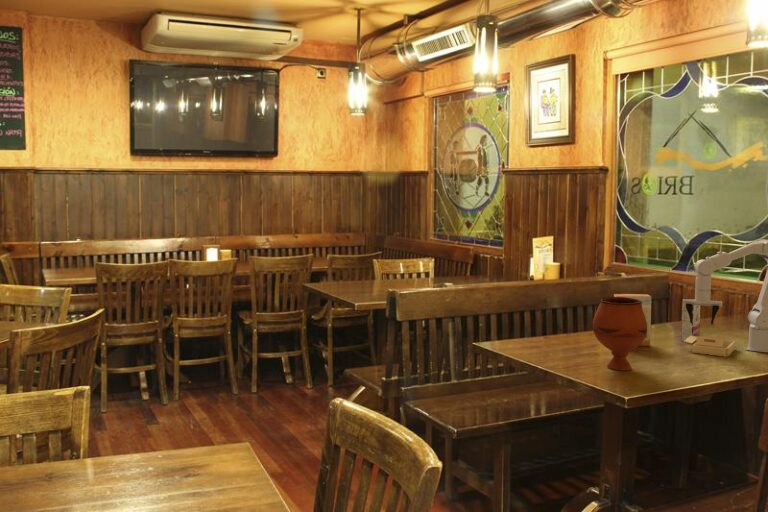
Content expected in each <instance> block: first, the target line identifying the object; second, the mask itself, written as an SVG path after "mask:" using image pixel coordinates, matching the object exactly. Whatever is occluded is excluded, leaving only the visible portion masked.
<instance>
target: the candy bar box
mask: <svg viewBox="0 0 768 512" xmlns="http://www.w3.org/2000/svg"><path fill="white" fill-rule="evenodd" d="M697 304H699V303H697ZM701 306H702V305H693V309H692V319H693V320H692V323H690V317H689V314H688V311H687V309H686V305H683V302H682V303H681V331H680V332H681V333H680V335H681V336H680V337H681V339H680V341H681V342H683V341H684V340H685V339H687V338H688V337H689V336H695V337H697V336H700V334H701Z"/></svg>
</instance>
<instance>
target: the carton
mask: <svg viewBox="0 0 768 512" xmlns="http://www.w3.org/2000/svg"><path fill="white" fill-rule="evenodd" d="M735 350H736V341H734V340H730V339H724V340H723V347H716V346H707V345H699V344H696V342H693V343H692V344H691V353H692V354H698V353H700V354H699V355H706V354H709V355H708V356H714V355H716V357H722V356H723V357H724V358H727V357H729V356H730V355H731V354H732V353H733V352H734V351H735Z"/></svg>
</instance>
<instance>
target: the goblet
mask: <svg viewBox="0 0 768 512" xmlns="http://www.w3.org/2000/svg"><path fill="white" fill-rule="evenodd" d="M592 330H593V333H594V336H595V338H596V339H597V341H598V342H599V343H600V344H602V346H603V347H605V348H606V349H608V350H610V351H611V354H612V356H613V357H612V358H611V359H610V360H609V361H608V363H607V364H606V367H609V368H608V369H610V368H612V369H611V370H613V369H616V370H615V371H629V370H632V365H631V364H630V362H629V361H628V360H627V357H628V356H629V352H631V351H633V350H635V349H637V348H638V347H640V346H639V345H640V344H641V343H642V342H643V340H644V339H645V337H646V334H647V322H646V318H645V315H644V313H643V309H642V301H641V300H638V299H633V298H625V297H614V296H607V297H604V298H600V302H599V305H598V307H597V310H596V312H595V314H594V317H593V319H592Z"/></svg>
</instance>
